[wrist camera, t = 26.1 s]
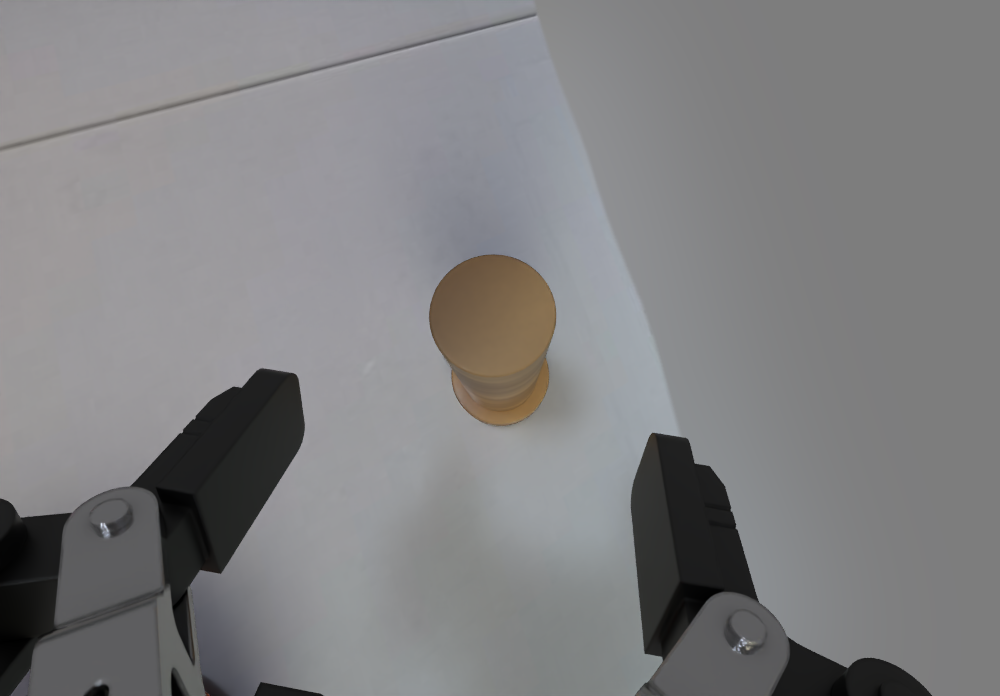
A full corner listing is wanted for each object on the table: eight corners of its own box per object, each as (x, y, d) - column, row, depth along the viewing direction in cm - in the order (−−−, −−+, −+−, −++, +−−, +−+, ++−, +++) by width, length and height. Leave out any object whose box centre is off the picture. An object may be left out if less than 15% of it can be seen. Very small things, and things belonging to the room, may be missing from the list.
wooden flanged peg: (564, 365, 28) (609, 289, 15) (514, 444, 27) (518, 433, 14) (487, 317, 28) (468, 205, 16) (436, 393, 28) (374, 339, 15)
